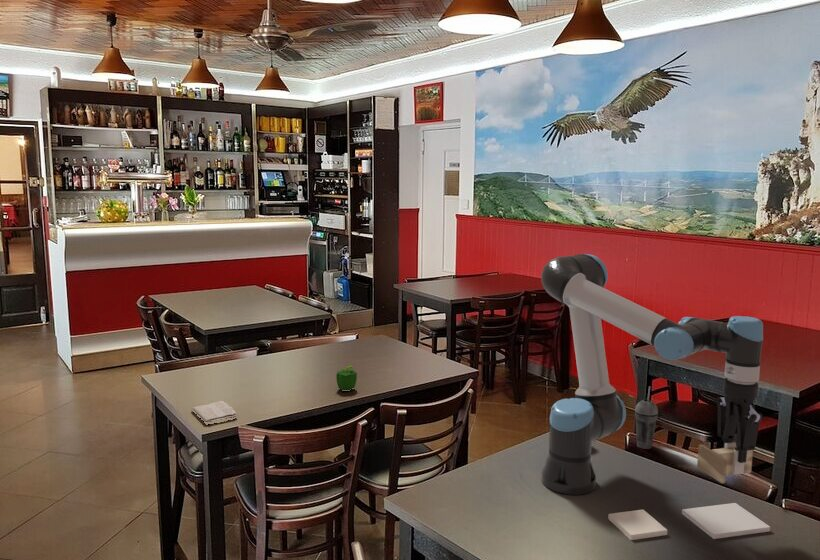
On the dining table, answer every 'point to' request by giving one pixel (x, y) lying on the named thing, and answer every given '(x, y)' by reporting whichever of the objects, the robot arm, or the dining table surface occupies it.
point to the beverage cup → (645, 422)
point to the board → (725, 520)
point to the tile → (637, 524)
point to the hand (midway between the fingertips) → (733, 470)
